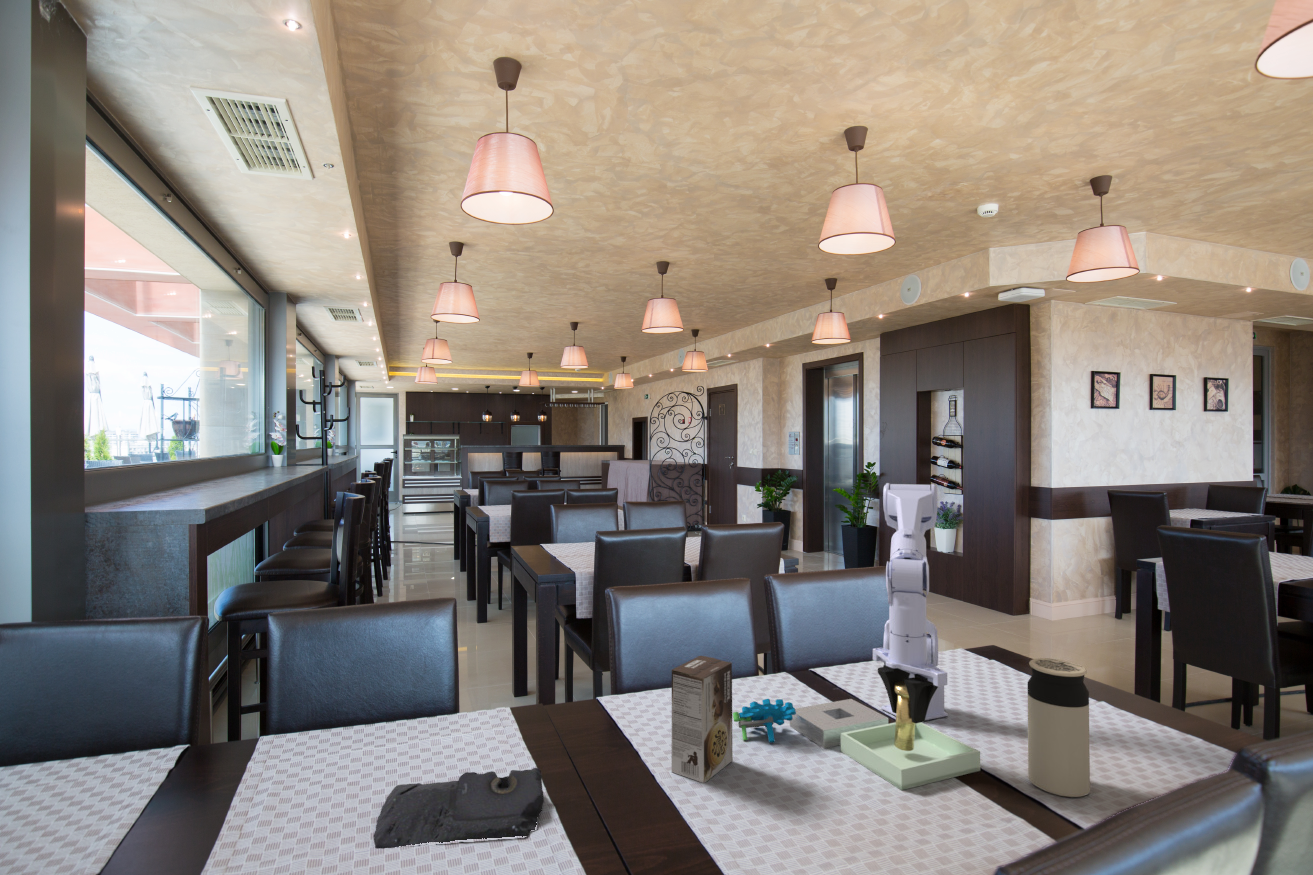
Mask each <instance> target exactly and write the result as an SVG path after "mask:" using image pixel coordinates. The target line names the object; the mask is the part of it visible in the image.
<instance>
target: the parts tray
mask: <svg viewBox="0 0 1313 875" xmlns="http://www.w3.org/2000/svg"><path fill="white" fill-rule="evenodd" d="M895 726H896V721H894V722H890V723H888V724H885V725H880V726H875V727H870V728H865V729H859V730H854V731H849V732H844V733H841V745H840V752H841V753H843V754H844V755H846V756H847V757H849V758H850V759H852V760H854V761H855V762H857V763H858V764H859V765H861V766H863V767H864V768H866V769H867V770H869V771H871V772H872V773H874V774H875V775H877V776H879V777H880V778H881V779H884V780H885V781H886V782H888V783H890V784H891V785H892V786H894V787H896V788H897V789H898V790H901V791H904V790H908V789H912V788H915V787H919V786H924V785H928V784H932V783H935V782H939V781H940V782H941V781H944V780H949V779H952V778H956V777H959V776H960V777H961V776H963V775H967V774H972V773H977V772H980V771H981V751H980V750H978V749H976V748H975V747H972V746H970V745H968V744H966V743H964V742H962V741H960V740H958V739H956V738H954V737H952V736H950V735H948V734H946V733H944V732H942V731H939V730H938V729H936V728H934V727H932V726H930V725H927V724H926V723H924V722H921V723H915V738H914V749H913V750H911V751H904V750H901V749H898V748H897V747H896V746H895V745H894V742H895Z"/></svg>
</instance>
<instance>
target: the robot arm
mask: <svg viewBox="0 0 1313 875" xmlns="http://www.w3.org/2000/svg"><path fill="white" fill-rule="evenodd" d="M882 493H883V494H882V495H883V496H882V500H883V501H882V502H883V512H884V520H885V522H886V525H887V526H888V527H890V528H892V529H895V530H896V531H895V532H894V533H893V534H892V536H891V542H890V554H889V555H890V558H889V561H888V560H887V561H886V566H885V587H886V591H887V604H888V605H889V608H888V610H889V611H888V615H889V617H888V620H886V622H885V624H884V632H883V646H882V647H875V648H872V660H873V661H875V662H882V663H884V664H883V665H882V666H881V667H878V668H877V674H878V675H879V677H880V679H881V681H882V683H883V685H884V688H885V690H886V693H887V697H888V700H889V704H886V705H885V704H884V705H881V707H880V708H881V710H883V711H885V712H887V713H889V714H890V715H893V716H895V717H896V710H897V693H896V692H895V691H894V690H895V683H896V682H900V681H904V682H905V685H906V687H907V691H908V694H909V699H910V712H911V719H912V722H913V723H921V722H922V723H924V722H925V721H929V720H933V719H940V718H945V717H948V716H949V714H948V712H946V711H945V686H948V672H947V671H945V670H943V669H940V668H939V667H938V666H939V637H938V628H937V627H936V626H937V625H936V624H935V623H934V622H932V621H931V620H930V619H928V618H927V596H929V592H930V565H929V562H928V557H927V540H926V537H925V533H926V531H928V530H930V529H933V528H935V526H936V523H937V514H938V487H937V485H935V484H934V483H931V484H915V483H914V484H908V483H903V484H902V483H898V484H897V483H890V482H886V483H885V484H884V486H883V491H882ZM923 590H926V594H925V593H924V591H923Z"/></svg>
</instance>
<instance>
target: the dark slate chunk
mask: <svg viewBox="0 0 1313 875" xmlns="http://www.w3.org/2000/svg"><path fill="white" fill-rule="evenodd" d="M542 778H543V776H542V771H541V769H540V768H538V767H534V768H532V769H524V770H520V769H519V770H518V769H512V770H510V772H509V775H508V776H503V777H501V776H500V777H499V776H498V775H497V773H496V771H493V770H492V771H488V772H485V773H478V772H474V771H473V772H467V771H466V772H464V773H463V774H462V775H460V776H459V778H458V780H451V781H442V782H438V781H437V782H431V783H424V784H422V783H421V782H418V783H405V784H402V783H401V784H398V785H397V784H396V785H395V786H394V788H393V789H392V790H391V792H390V793H389V795H387V797H386V798H385V801H384V804H383V805H382V806H381V809H380V813H379V815H378V817H377V818H376V819H377V820H376V825H375V831H374V832H373V843H375V844H374V848H376V849H395V847H397V848H403V847H402V846H404V847H407V846H406V845H411V844H412V845H415V844H420V843H421V844H422V843H427V842H428V843H429V842H439V843H440V842H441V843H443V842H450V841H455V840H467V839H482V838H483V839H484V838H485V839H487V838H502V837H515V836H522V837H523V836H528V835H529V836H530V833H529V832H530V831H531V830H535V827H536V825H537V823H536V822H537V817H538V818H539V816H540V815H539V814H542V812H543V807H544V802H545V797H544V791H543V783H542V782H543V779H542ZM529 836H528V837H529ZM399 846H401V847H399Z"/></svg>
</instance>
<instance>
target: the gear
mask: <svg viewBox="0 0 1313 875" xmlns="http://www.w3.org/2000/svg"><path fill="white" fill-rule="evenodd" d="M761 702H762V703H759V702H758V701H751V702H750V703H749V706H742V707H741V712H738V711H735V712H732V719H733V722H735V723H738V728H740V729H741V733H742V740H747V741H748V734H747V729H748V728H760V727H764V728H766V727H767V728H766V732H767V737H768V738H767V740H768V743H769V744H774V743H775V742H776V741H775V735H774V727H773V725H774V724H776V725H778V726H782V725H784V724H785V721H788V722H790V721H791V720H792V719H793V717H792V715H795V714H796V711H795V709H796V708H795V707H794V705H793V702H790V701H787V702H785V704H784V700H783V699H779V698H777V699H775V701H774V702H775V704H773V703H771V699H770V698H764V699H762V700H761Z"/></svg>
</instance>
